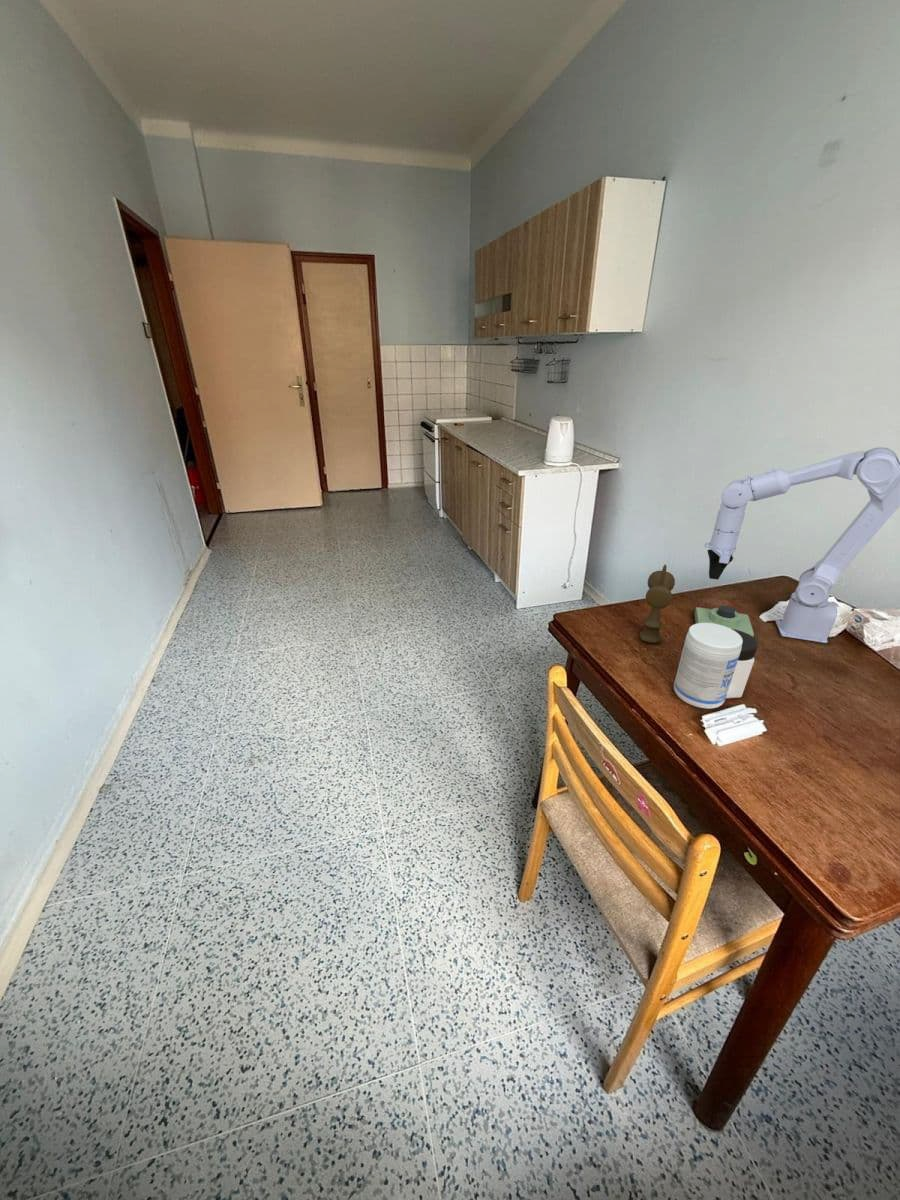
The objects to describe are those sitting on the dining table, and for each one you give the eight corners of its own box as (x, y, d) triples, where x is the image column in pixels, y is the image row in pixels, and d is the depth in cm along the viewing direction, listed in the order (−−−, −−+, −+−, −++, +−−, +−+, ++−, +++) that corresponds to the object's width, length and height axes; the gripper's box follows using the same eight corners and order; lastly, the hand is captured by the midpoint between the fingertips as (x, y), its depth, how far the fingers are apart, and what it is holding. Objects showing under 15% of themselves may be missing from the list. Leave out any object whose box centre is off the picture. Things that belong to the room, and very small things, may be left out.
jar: (751, 690, 98) (768, 641, 92) (730, 705, 94) (747, 656, 88) (709, 669, 104) (723, 622, 99) (688, 682, 100) (701, 635, 95)
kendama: (663, 632, 118) (680, 558, 109) (661, 652, 110) (679, 575, 101) (638, 627, 120) (652, 554, 111) (634, 646, 113) (649, 570, 103)
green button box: (745, 622, 122) (750, 608, 120) (751, 642, 113) (756, 627, 111) (694, 614, 126) (697, 601, 124) (696, 633, 117) (700, 619, 115)
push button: (732, 613, 119) (734, 606, 118) (734, 619, 116) (736, 613, 115) (716, 610, 120) (718, 604, 119) (718, 617, 117) (719, 611, 116)
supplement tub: (726, 716, 91) (747, 653, 84) (672, 704, 94) (689, 642, 87) (721, 686, 99) (740, 626, 92) (672, 676, 102) (687, 617, 95)
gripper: (706, 518, 125) (695, 565, 132) (711, 537, 113) (698, 587, 120) (736, 521, 123) (723, 568, 129) (745, 540, 111) (729, 591, 117)
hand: (713, 578), depth 124 cm, fingers closed
